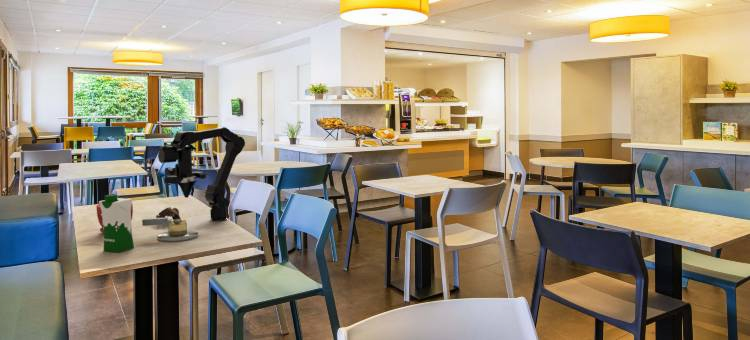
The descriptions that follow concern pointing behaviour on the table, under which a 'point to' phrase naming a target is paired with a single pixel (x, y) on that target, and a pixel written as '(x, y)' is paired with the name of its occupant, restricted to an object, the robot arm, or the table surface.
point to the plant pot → (101, 216)
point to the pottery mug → (169, 213)
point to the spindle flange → (177, 238)
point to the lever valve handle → (168, 225)
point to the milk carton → (116, 223)
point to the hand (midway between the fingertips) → (186, 197)
